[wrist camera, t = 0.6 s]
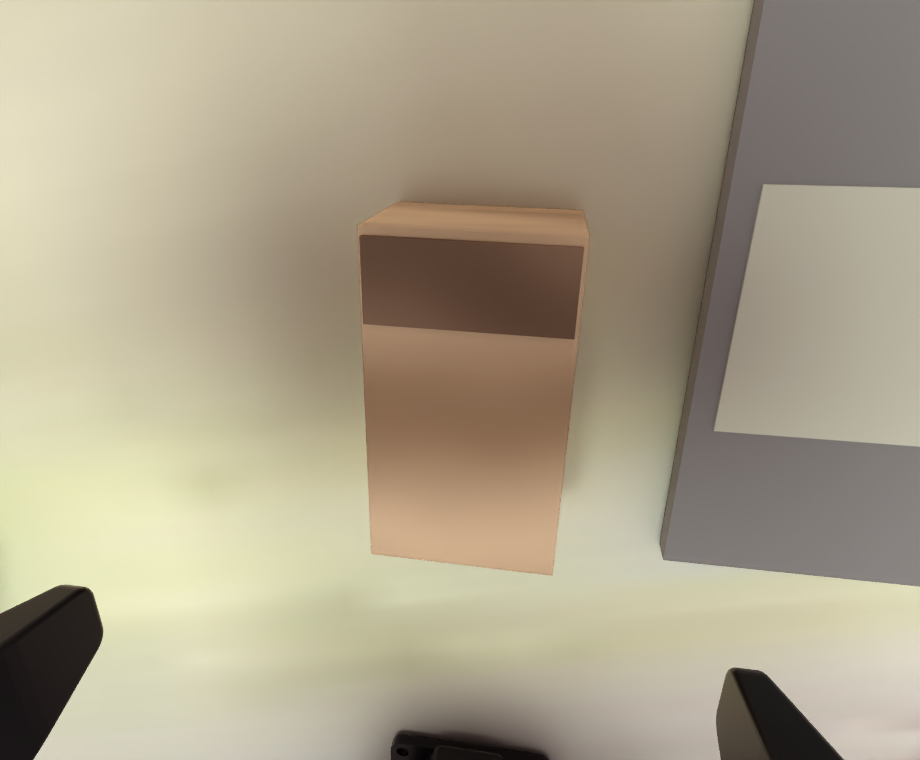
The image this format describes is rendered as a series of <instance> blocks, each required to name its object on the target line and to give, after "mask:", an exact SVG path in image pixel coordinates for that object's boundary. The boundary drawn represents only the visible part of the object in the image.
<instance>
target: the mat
mask: <svg viewBox="0 0 920 760" xmlns="http://www.w3.org/2000/svg"><path fill="white" fill-rule="evenodd" d="M660 548H661V552H662V556H663V560H669V561H679V562H689V563H698V564H708V565H718V566H727V567H737V568H747V569H756V570H766V571H776V572H785V573H795V574H805V575H814V576H824V577H834V578H843V579H853V580H863V581H872V582H882V583H892V584H901V585H911V586H920V0H755V1H754V7H753V13H752V18H751V24H750V30H749V35H748V41H747V47H746V53H745V58H744V64H743V70H742V75H741V81H740V87H739V93H738V98H737V104H736V110H735V115H734V121H733V127H732V132H731V138H730V144H729V150H728V155H727V161H726V167H725V172H724V178H723V184H722V190H721V195H720V201H719V207H718V212H717V218H716V224H715V230H714V235H713V241H712V247H711V252H710V258H709V264H708V270H707V275H706V281H705V287H704V292H703V298H702V304H701V309H700V315H699V321H698V327H697V332H696V338H695V344H694V349H693V355H692V361H691V367H690V372H689V378H688V384H687V389H686V395H685V401H684V407H683V412H682V418H681V424H680V429H679V435H678V441H677V447H676V452H675V458H674V464H673V469H672V475H671V481H670V486H669V492H668V498H667V504H666V509H665V515H664V521H663V526H662V532H661V538H660Z"/></svg>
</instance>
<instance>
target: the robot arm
mask: <svg viewBox="0 0 920 760" xmlns="http://www.w3.org/2000/svg"><path fill="white" fill-rule="evenodd" d="M102 637H103V626H102V622H101V619H100V615H99V612H98V608H97V605H96V601H95V598H94V595H93V592H92V591H91V590H90V589H89V588H86V587H81V586H73V585H60V586H57V587H54V588H52V589H50V590H48V591H46V592H44V593H42V594H40V595H38V596H36V597H34V598H32V599H30V600H28V601H25V602H23V603H21V604H19V605H17V606H15V607H13V608H11V609H9V610H7V611H5V612H3V613H1V614H0V760H33V759H34V758H35V756H36V755H37V753H38V752H39V750H40V748H41V747H42V745H43V743H44V742H45V740H46V738H47V737H48V735H49V734H50V732H51V730H52V728H53V727H54V725H55V723H56V721H57V720H58V718H59V716H60V715H61V713H62V711H63V709H64V708H65V706H66V704H67V702H68V701H69V699H70V697H71V695H72V694H73V692H74V690H75V688H76V687H77V685H78V683H79V681H80V680H81V678H82V676H83V674H84V673H85V671H86V669H87V667H88V666H89V664H90V662H91V661H92V659H93V657H94V655H95V654H96V652H97V650H98V648H99V646H100V644H101V641H102ZM716 728H717V736H718V743H719V750H720V756H721V760H844V759H843V758H842V757H841V756H840V755H839V754H838V753H837V752H836V750H835V749H834V748H833V747H832V746H831V745H830V744H829V743H828V742H827V741H826V739H825V738H824V737H823V736H822V735H821V734H820V733H819V732H818V731H817V729H816V728H815V727H814V726H813V725H812V724H811V723H810V722H809V721H808V720H807V718H806V717H805V716H804V715H803V714H802V713H801V712H800V711H799V710H798V709H797V707H796V706H795V705H794V704H793V703H792V702H791V701H790V700H789V699H788V698H787V696H786V695H785V694H784V693H783V692H782V691H781V690H780V689H779V688H778V686H777V685H776V684H775V683H774V682H773V681H772V680H771V679H770V678H769V677H768V676H767V675H766V674H765V673H763V672H761V671H758V670H750V669H742V668H731V669H729V670H728V672H727V674H726V677H725V681H724V685H723V689H722V693H721V697H720V701H719V705H718V709H717V715H716ZM391 760H548V759H547V758H546V757H544V756H542V755H538V754H531V753H524V752H518V751H511V750H504V749H497V748H491V747H484V746H477V745H470V744H464V743H457V742H450V741H443V740H436V739H430V738H423V737H416V736H409V735H398V736H396V737H395V738H394V739H393V743H392V747H391Z"/></svg>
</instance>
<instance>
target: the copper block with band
mask: <svg viewBox="0 0 920 760" xmlns="http://www.w3.org/2000/svg"><path fill="white" fill-rule="evenodd" d="M357 234H358V257H359V280H360V303H361V326H362V349H363V373H364V396H365V419H366V442H367V465H368V488H369V512H370V535H371V554H377V555H386V556H394V557H402V558H411V559H419V560H427V561H436V562H444V563H452V564H460V565H469V566H477V567H485V568H494V569H502V570H510V571H518V572H527V573H535V574H543V575H552V574H553V565H554V556H555V547H556V538H557V529H558V520H559V511H560V502H561V493H562V484H563V475H564V466H565V457H566V447H567V438H568V429H569V420H570V411H571V402H572V393H573V384H574V375H575V366H576V357H577V348H578V339H579V330H580V321H581V312H582V303H583V294H584V285H585V275H586V266H587V257H588V248H589V239H590V236H589V232H588V228H587V224H586V220H585V216H584V212H583V210H565V209H544V208H523V207H501V206H480V205H459V204H438V203H417V202H397V203H395V204H393V205H392V206H390V207H388V208H386V209H385V210H383V211H381V212H379V213H378V214H376V215H374V216H372V217H371V218H369V219H367V220H365V221H364V222H362V223H360V224H358V225H357Z"/></svg>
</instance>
